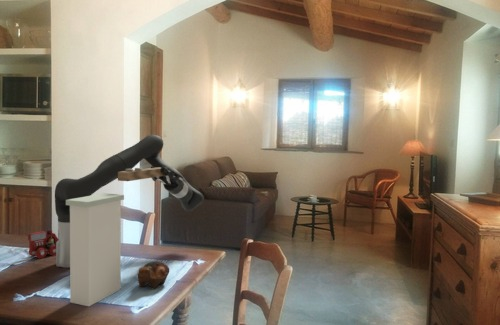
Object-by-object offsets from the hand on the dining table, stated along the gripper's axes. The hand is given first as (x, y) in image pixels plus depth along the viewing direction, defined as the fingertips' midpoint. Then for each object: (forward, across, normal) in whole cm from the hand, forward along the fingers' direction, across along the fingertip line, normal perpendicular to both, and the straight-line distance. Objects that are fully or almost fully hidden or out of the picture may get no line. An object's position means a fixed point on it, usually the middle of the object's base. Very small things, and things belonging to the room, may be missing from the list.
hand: (156, 168), depth 148 cm
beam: (+5, 0, +6) cm, 8 cm away
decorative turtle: (-3, +11, +42) cm, 44 cm away
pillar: (+9, 0, +49) cm, 50 cm away
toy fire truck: (-12, -49, +37) cm, 62 cm away
